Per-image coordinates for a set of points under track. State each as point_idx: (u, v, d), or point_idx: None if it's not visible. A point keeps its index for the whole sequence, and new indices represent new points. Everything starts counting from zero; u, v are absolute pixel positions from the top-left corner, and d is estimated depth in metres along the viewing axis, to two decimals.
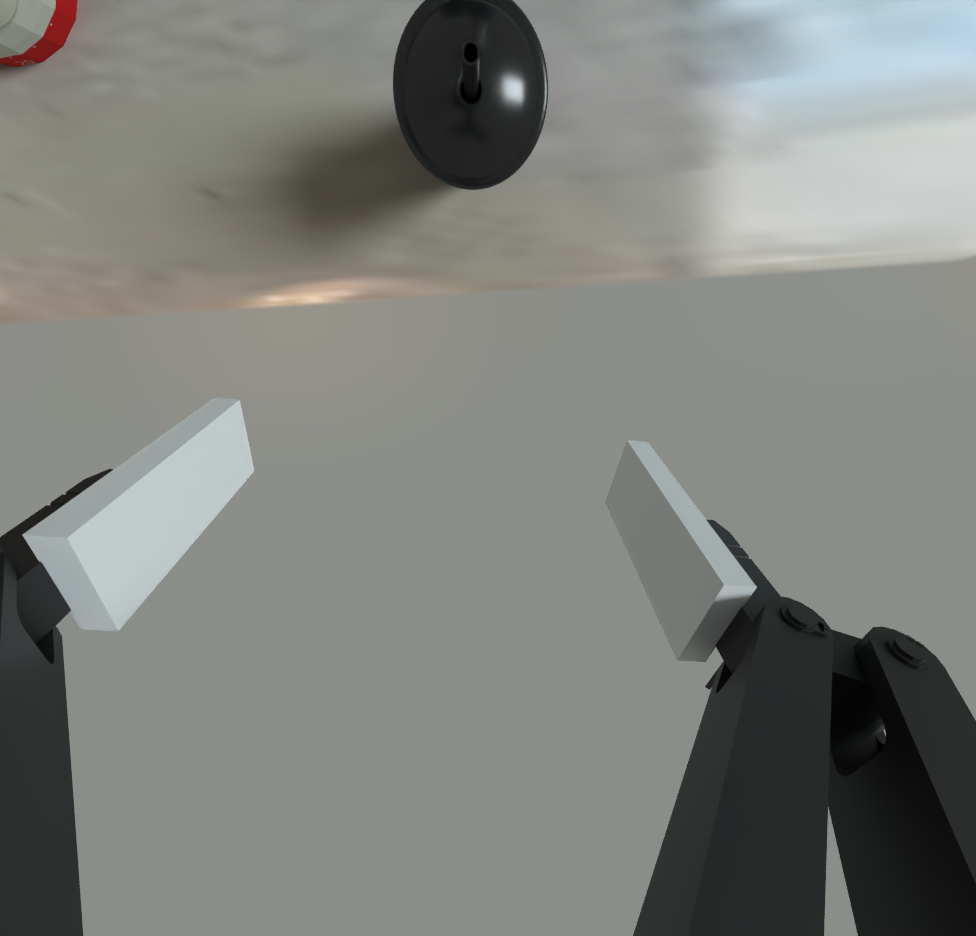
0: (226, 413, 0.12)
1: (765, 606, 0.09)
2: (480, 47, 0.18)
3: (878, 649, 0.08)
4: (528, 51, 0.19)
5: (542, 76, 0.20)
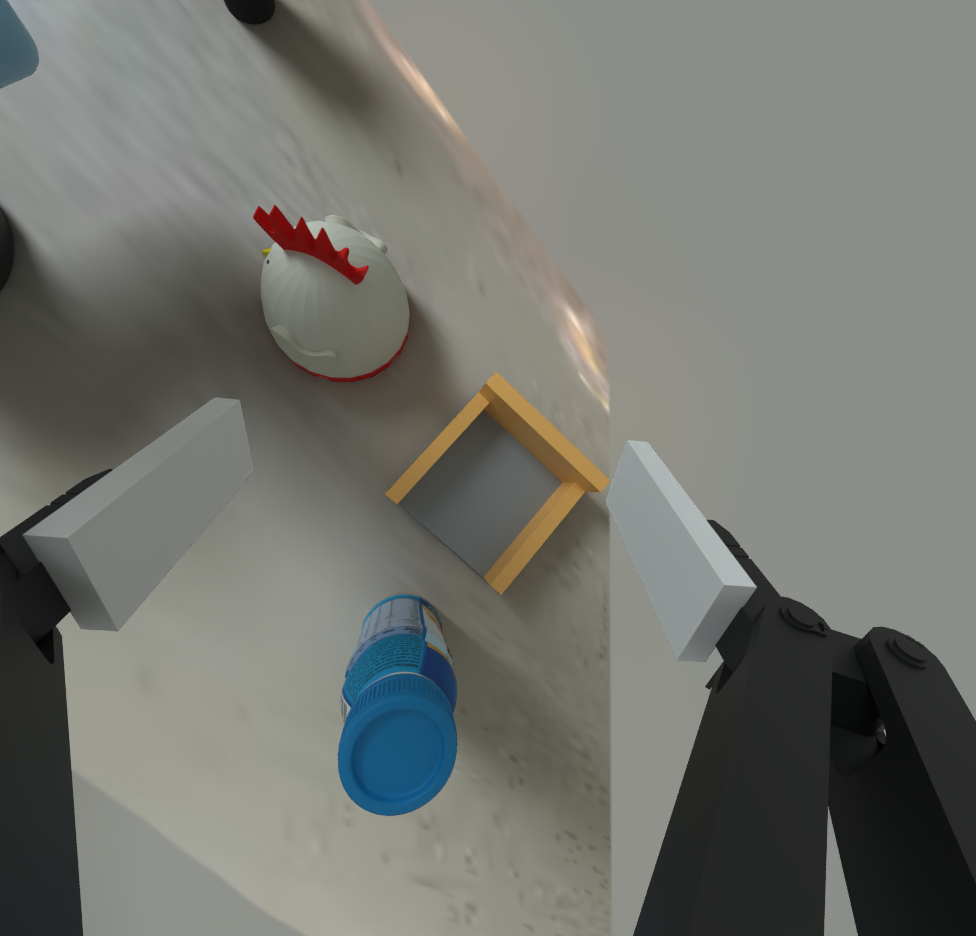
0: (226, 413, 0.12)
1: (765, 606, 0.09)
2: None
3: (878, 649, 0.08)
4: None
5: None
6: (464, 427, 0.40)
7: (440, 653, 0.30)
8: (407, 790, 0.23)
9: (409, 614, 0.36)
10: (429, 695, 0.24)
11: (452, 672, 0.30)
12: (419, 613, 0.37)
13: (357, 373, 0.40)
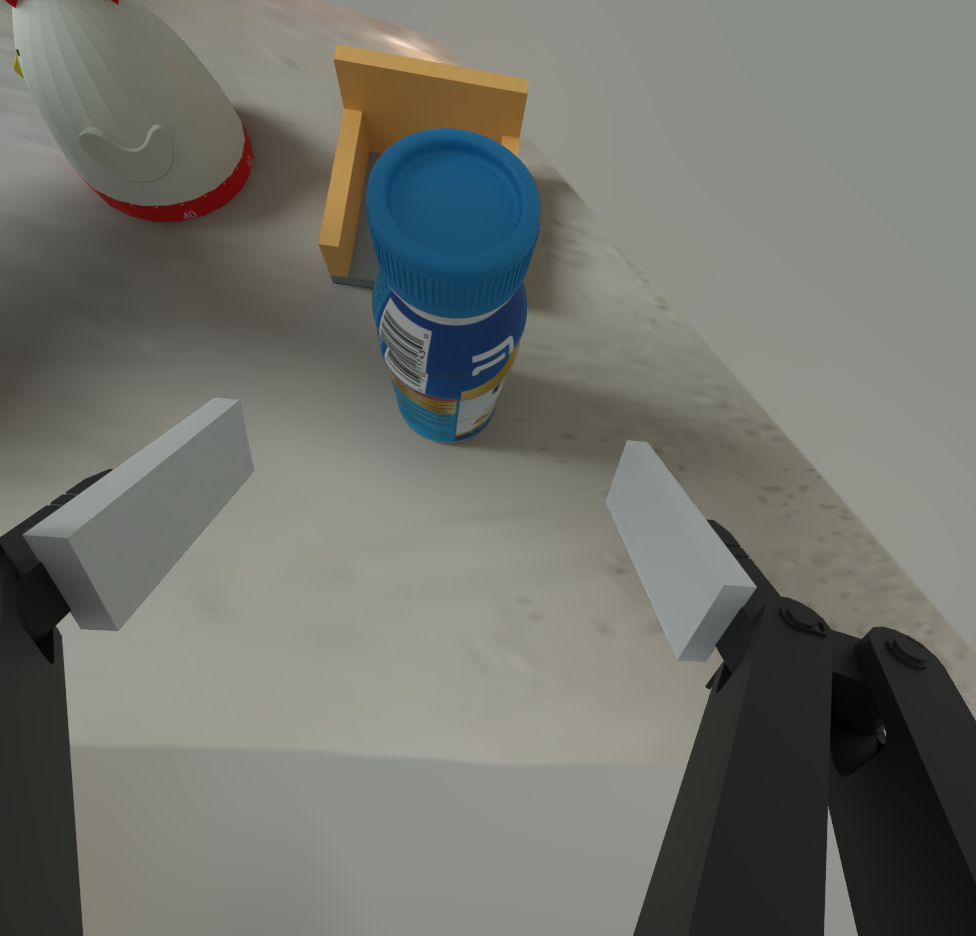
0: (226, 413, 0.12)
1: (765, 606, 0.09)
2: None
3: (878, 649, 0.08)
4: None
5: None
6: (354, 145, 0.34)
7: None
8: (500, 241, 0.15)
9: None
10: None
11: None
12: None
13: (216, 176, 0.34)
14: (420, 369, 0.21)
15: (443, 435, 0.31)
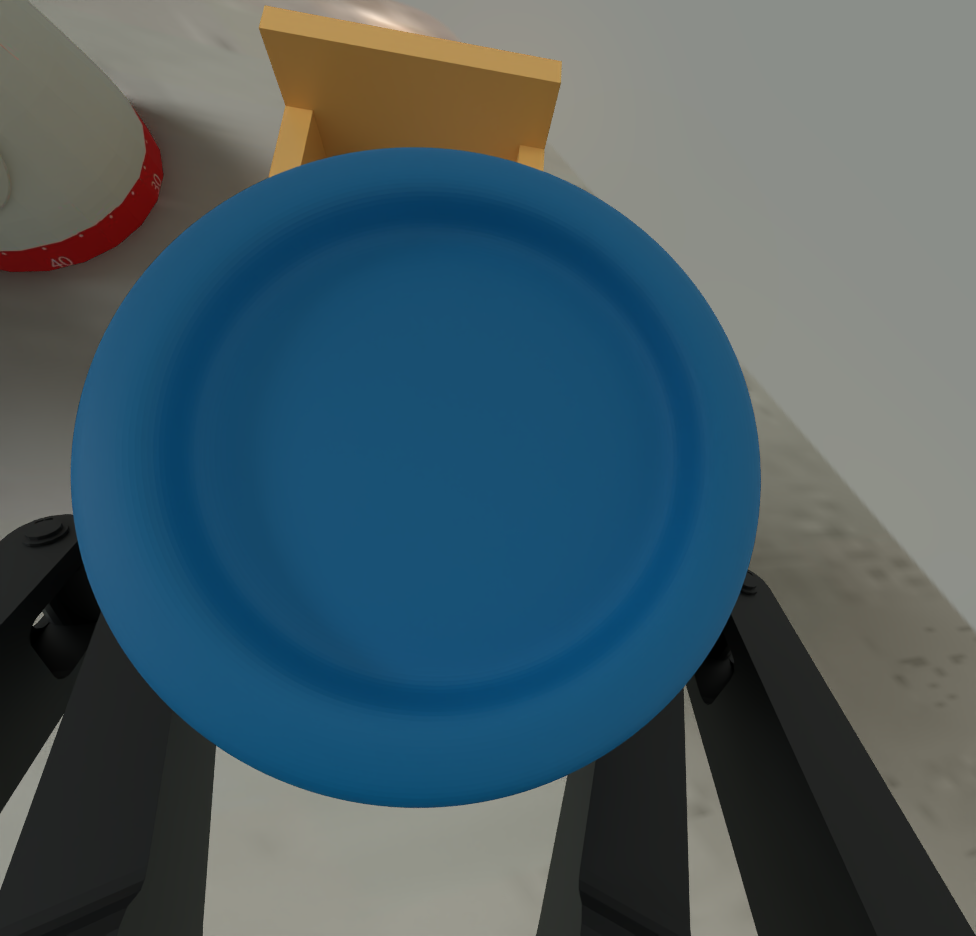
0: None
1: None
2: None
3: None
4: None
5: None
6: (298, 160, 0.22)
7: None
8: (618, 573, 0.04)
9: None
10: None
11: None
12: None
13: (94, 207, 0.23)
14: None
15: None
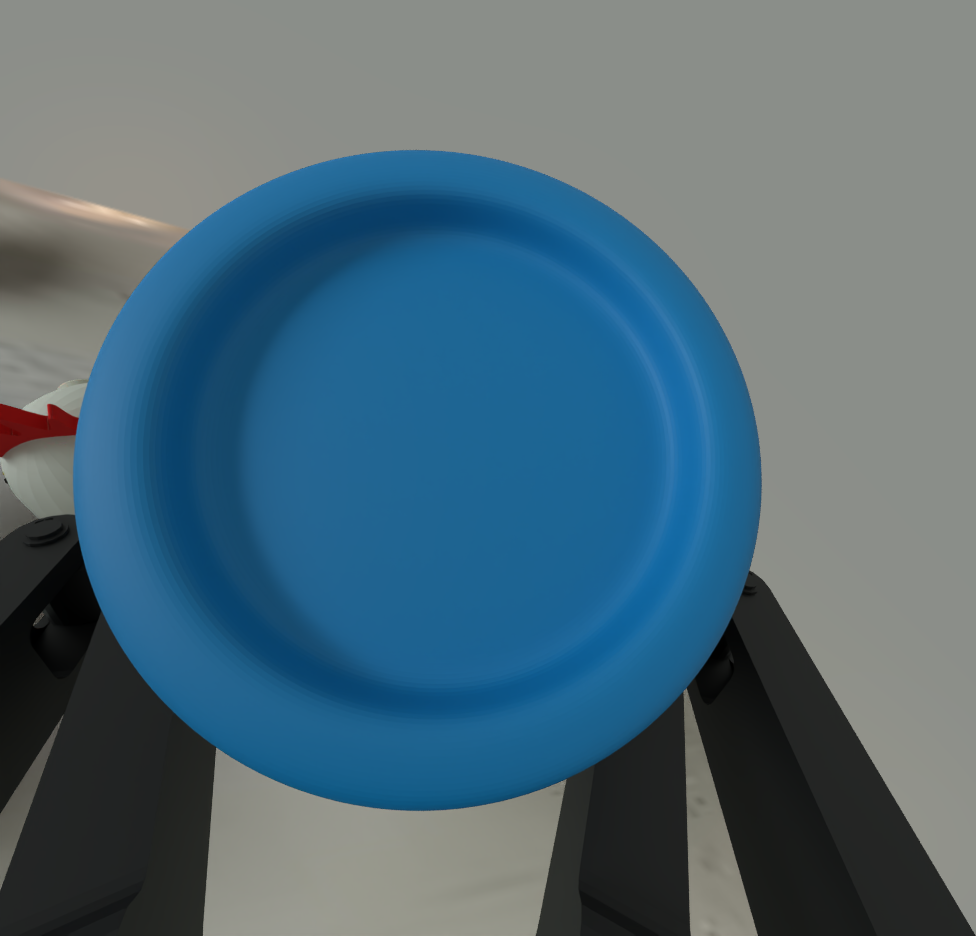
0: None
1: None
2: None
3: None
4: None
5: None
6: None
7: None
8: (619, 575, 0.04)
9: None
10: None
11: None
12: None
13: None
14: None
15: None
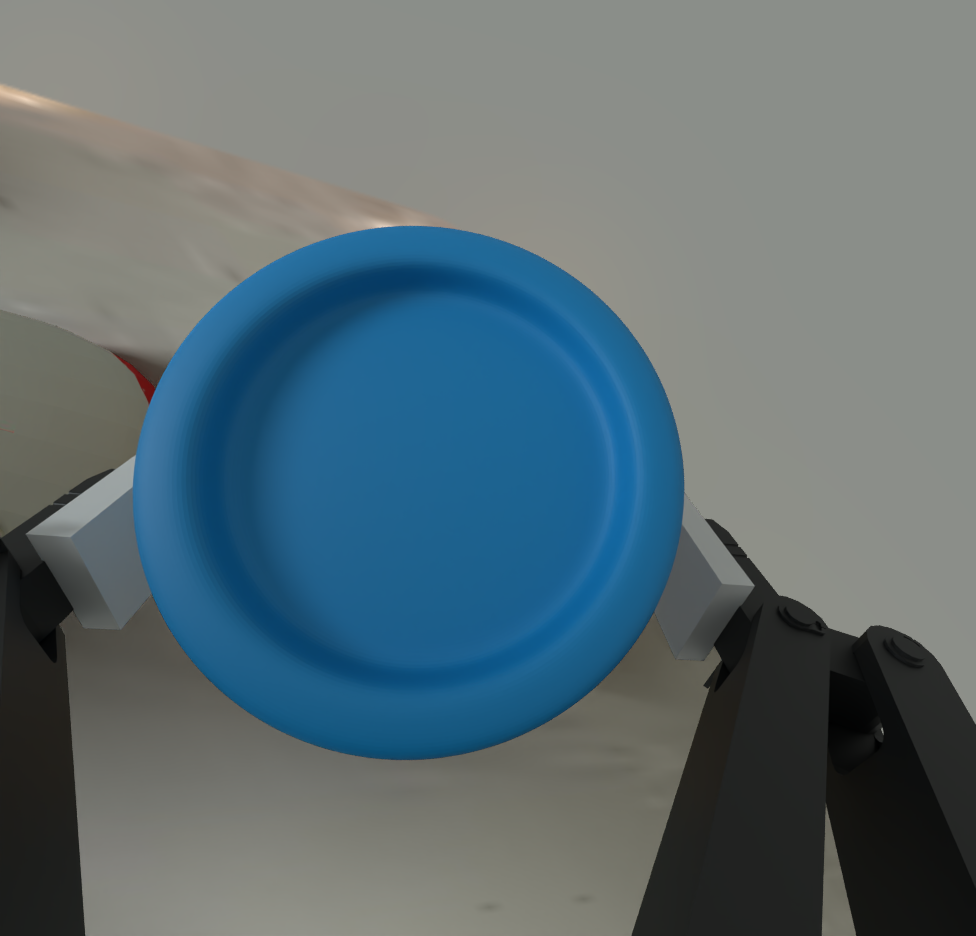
0: None
1: (763, 605, 0.09)
2: None
3: (876, 648, 0.08)
4: None
5: None
6: None
7: None
8: (567, 577, 0.05)
9: None
10: None
11: None
12: None
13: None
14: None
15: None
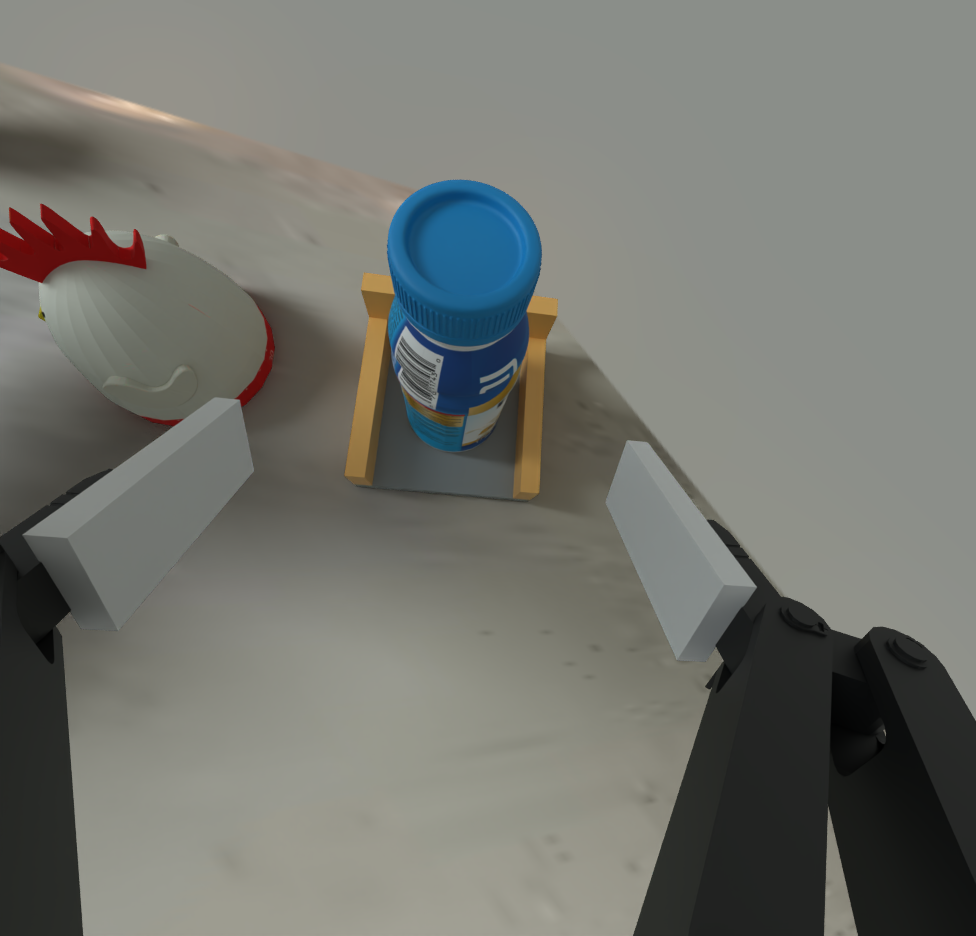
0: (226, 413, 0.12)
1: (765, 606, 0.09)
2: None
3: (878, 649, 0.08)
4: None
5: None
6: (379, 358, 0.33)
7: None
8: (506, 280, 0.17)
9: None
10: None
11: None
12: None
13: (238, 387, 0.34)
14: (432, 389, 0.23)
15: (450, 445, 0.33)
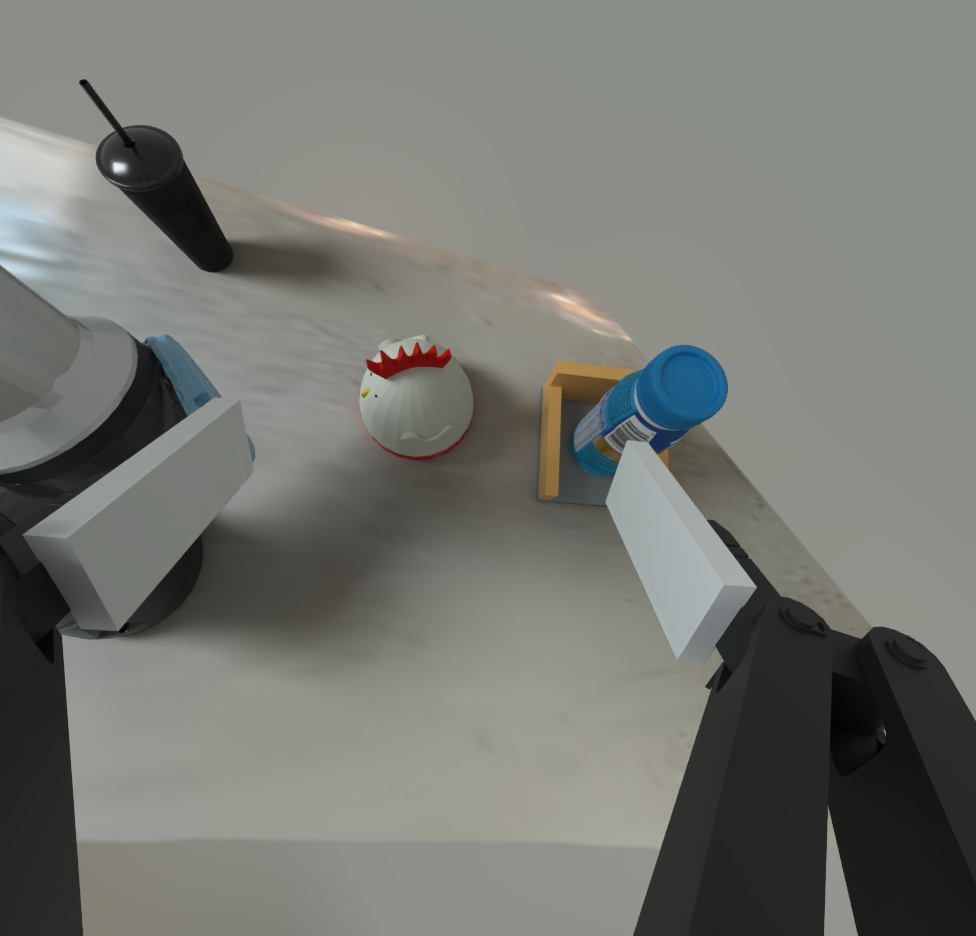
0: (226, 413, 0.12)
1: (765, 606, 0.09)
2: (118, 155, 0.39)
3: (878, 649, 0.08)
4: (100, 155, 0.39)
5: (99, 148, 0.40)
6: (559, 414, 0.49)
7: None
8: (710, 400, 0.33)
9: None
10: None
11: None
12: None
13: (462, 433, 0.50)
14: None
15: (606, 472, 0.49)
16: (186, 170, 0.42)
